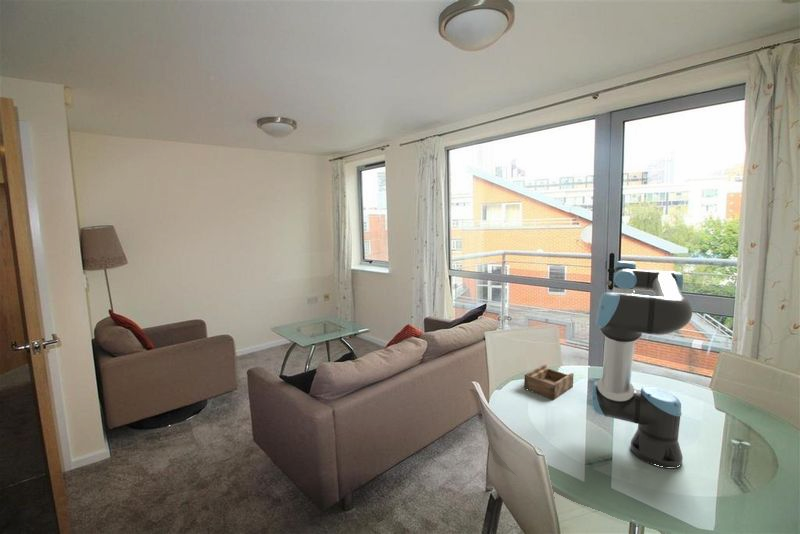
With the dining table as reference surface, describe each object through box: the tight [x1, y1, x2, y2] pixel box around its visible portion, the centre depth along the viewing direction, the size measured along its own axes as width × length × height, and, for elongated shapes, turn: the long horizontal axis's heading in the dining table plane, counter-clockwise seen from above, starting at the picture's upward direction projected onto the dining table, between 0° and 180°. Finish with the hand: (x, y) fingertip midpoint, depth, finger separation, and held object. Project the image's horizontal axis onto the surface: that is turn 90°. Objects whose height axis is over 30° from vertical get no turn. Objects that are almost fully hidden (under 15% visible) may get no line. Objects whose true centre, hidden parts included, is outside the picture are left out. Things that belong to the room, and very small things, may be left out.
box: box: [523, 363, 575, 401], centre depth 179 cm, size 20×15×7 cm
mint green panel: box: [558, 368, 584, 385], centre depth 192 cm, size 17×12×4 cm
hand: (618, 349), depth 158 cm, fingers closed
